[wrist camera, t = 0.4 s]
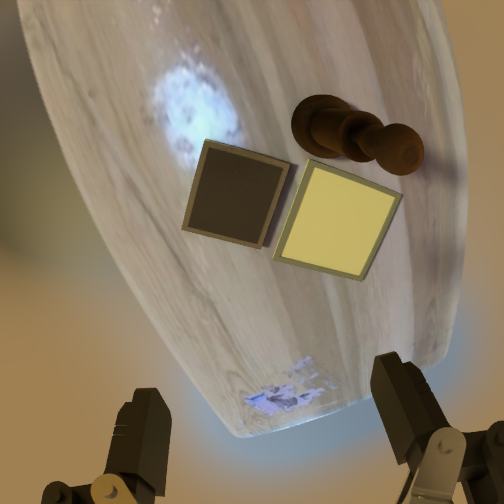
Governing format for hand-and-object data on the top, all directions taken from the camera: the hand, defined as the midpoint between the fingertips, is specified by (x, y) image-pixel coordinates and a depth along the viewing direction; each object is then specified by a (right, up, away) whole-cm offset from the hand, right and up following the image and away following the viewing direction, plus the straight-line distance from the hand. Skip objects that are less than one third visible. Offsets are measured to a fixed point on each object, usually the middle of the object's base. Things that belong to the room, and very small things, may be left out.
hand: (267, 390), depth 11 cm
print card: (+9, +8, +25) cm, 28 cm away
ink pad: (-2, +11, +23) cm, 26 cm away
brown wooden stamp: (+7, +18, +20) cm, 28 cm away
